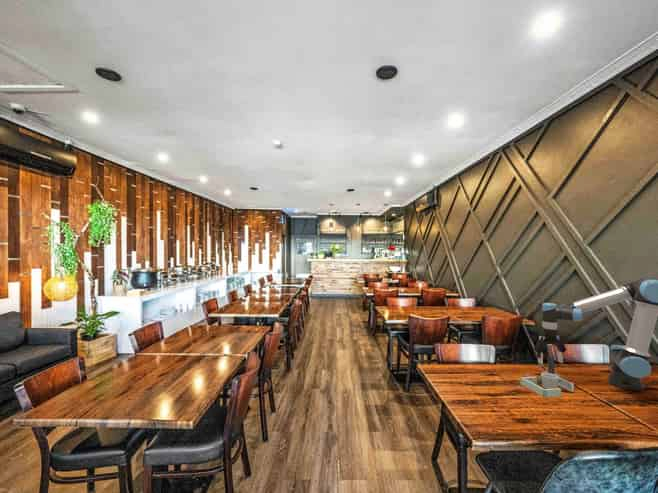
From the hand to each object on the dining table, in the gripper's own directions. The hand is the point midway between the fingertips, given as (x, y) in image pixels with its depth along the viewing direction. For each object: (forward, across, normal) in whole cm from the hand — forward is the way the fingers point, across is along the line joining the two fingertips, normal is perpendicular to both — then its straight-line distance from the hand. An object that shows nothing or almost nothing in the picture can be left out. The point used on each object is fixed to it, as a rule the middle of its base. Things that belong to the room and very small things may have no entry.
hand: (550, 362), depth 184 cm
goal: (+11, +18, +11) cm, 24 cm away
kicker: (+10, 0, +6) cm, 12 cm away
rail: (+11, +6, 0) cm, 12 cm away
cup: (+11, +10, +11) cm, 18 cm away
